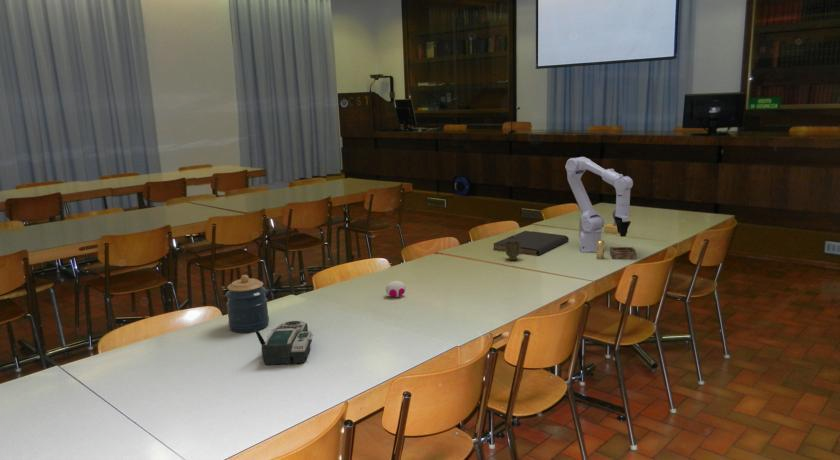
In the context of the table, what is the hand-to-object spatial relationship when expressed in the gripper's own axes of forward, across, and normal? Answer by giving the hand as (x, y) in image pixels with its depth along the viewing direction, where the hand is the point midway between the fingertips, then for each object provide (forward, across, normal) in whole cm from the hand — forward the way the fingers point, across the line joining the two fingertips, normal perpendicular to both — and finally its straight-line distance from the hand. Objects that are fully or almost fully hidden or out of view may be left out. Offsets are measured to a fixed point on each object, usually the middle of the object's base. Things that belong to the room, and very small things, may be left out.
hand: (621, 234), depth 278 cm
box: (+10, -2, 0) cm, 10 cm away
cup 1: (+10, -9, +48) cm, 49 cm away
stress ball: (+10, -64, +90) cm, 111 cm away
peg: (+10, -5, +10) cm, 15 cm away
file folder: (+11, +18, +39) cm, 45 cm away
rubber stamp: (+10, +49, -5) cm, 50 cm away
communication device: (+10, -113, +113) cm, 160 cm away
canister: (+10, -98, +133) cm, 165 cm away
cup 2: (+10, +38, +11) cm, 40 cm away
